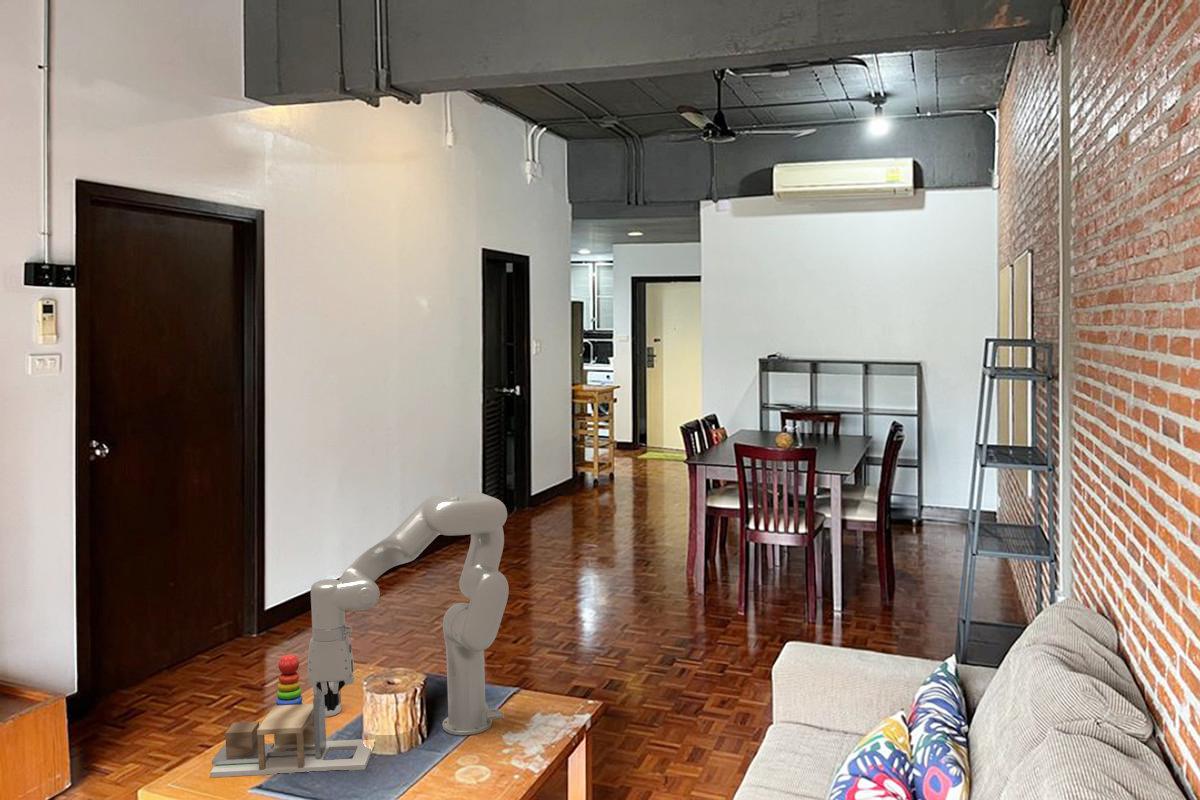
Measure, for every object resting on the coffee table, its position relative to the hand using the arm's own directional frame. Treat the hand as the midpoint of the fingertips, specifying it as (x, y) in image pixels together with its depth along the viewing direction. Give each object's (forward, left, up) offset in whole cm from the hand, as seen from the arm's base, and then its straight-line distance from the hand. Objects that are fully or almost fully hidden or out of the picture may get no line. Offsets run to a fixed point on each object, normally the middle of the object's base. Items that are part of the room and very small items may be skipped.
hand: (332, 708), depth 223 cm
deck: (+9, 0, -12) cm, 15 cm away
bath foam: (+7, -28, -12) cm, 32 cm away
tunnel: (+10, 0, -11) cm, 15 cm away
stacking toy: (+15, -20, -12) cm, 28 cm away
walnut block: (+21, 0, -10) cm, 23 cm away
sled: (+15, 0, -10) cm, 18 cm away
